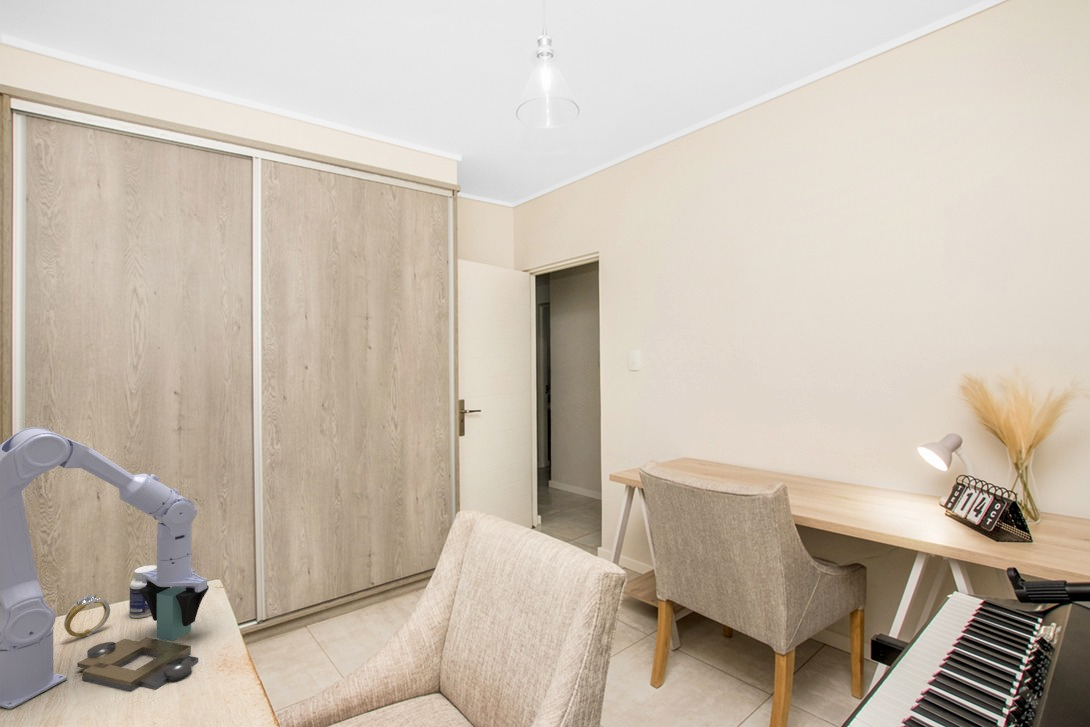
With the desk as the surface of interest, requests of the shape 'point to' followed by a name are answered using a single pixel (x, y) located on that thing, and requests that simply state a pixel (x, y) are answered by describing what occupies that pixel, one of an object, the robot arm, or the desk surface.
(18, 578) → the robot arm
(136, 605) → the pill bottle
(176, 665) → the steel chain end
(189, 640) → the desk surface
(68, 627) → the ring
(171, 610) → the teal pin
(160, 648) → the tan slotted board
